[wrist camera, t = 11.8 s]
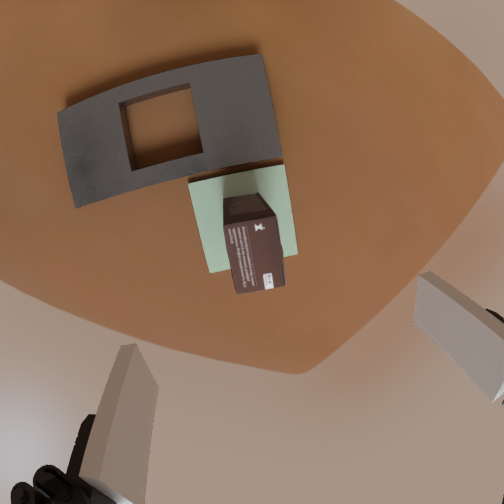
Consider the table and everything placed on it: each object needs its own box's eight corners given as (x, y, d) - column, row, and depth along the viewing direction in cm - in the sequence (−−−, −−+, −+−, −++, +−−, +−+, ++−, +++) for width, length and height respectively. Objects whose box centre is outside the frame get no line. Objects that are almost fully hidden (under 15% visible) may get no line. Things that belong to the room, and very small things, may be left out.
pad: (210, 271, 35) (209, 273, 34) (188, 183, 31) (187, 183, 30) (296, 252, 35) (297, 253, 35) (283, 164, 32) (284, 164, 31)
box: (219, 198, 31) (221, 223, 20) (259, 191, 32) (282, 212, 20) (229, 248, 33) (235, 297, 22) (266, 241, 34) (291, 286, 22)
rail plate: (84, 204, 30) (75, 208, 28) (66, 114, 26) (57, 112, 23) (277, 156, 31) (282, 156, 29) (258, 60, 27) (261, 53, 25)
